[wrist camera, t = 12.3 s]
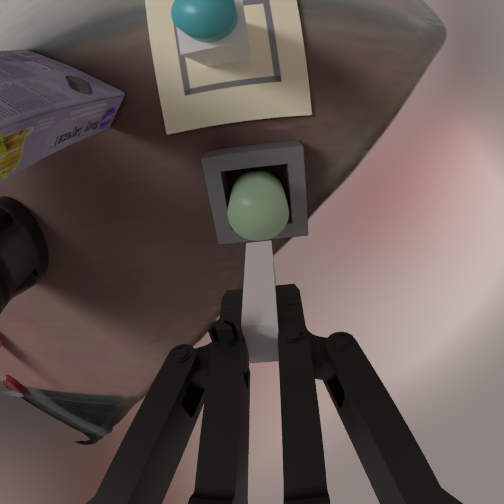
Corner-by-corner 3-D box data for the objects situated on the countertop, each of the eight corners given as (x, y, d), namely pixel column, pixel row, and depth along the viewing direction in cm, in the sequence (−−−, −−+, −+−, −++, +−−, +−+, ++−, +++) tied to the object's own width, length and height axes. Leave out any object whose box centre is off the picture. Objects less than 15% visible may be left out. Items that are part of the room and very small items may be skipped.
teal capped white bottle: (207, 66, 21) (168, 49, 11) (201, 30, 19) (160, -12, 9) (251, 60, 21) (248, 34, 10) (245, 22, 19) (237, -28, 8)
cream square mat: (168, 134, 25) (166, 135, 25) (145, -5, 17) (144, -6, 16) (311, 114, 24) (312, 115, 24) (289, -29, 15) (290, -31, 15)
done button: (235, 220, 28) (232, 243, 24) (227, 172, 25) (222, 189, 22) (285, 214, 28) (290, 237, 24) (281, 166, 25) (286, 182, 21)
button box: (222, 230, 31) (218, 244, 29) (206, 151, 26) (200, 158, 24) (303, 221, 30) (308, 235, 28) (298, 140, 25) (303, 146, 23)
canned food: (18, 368, 66) (14, 387, 58) (31, 386, 71) (29, 405, 63) (-2, 371, 62) (-6, 390, 54) (11, 389, 66) (9, 408, 58)
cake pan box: (8, 81, 19) (-98, 116, 4) (22, 45, 17) (-89, 64, 2) (109, 134, 25) (-15, 203, 10) (129, 92, 23) (-5, 121, 8)
